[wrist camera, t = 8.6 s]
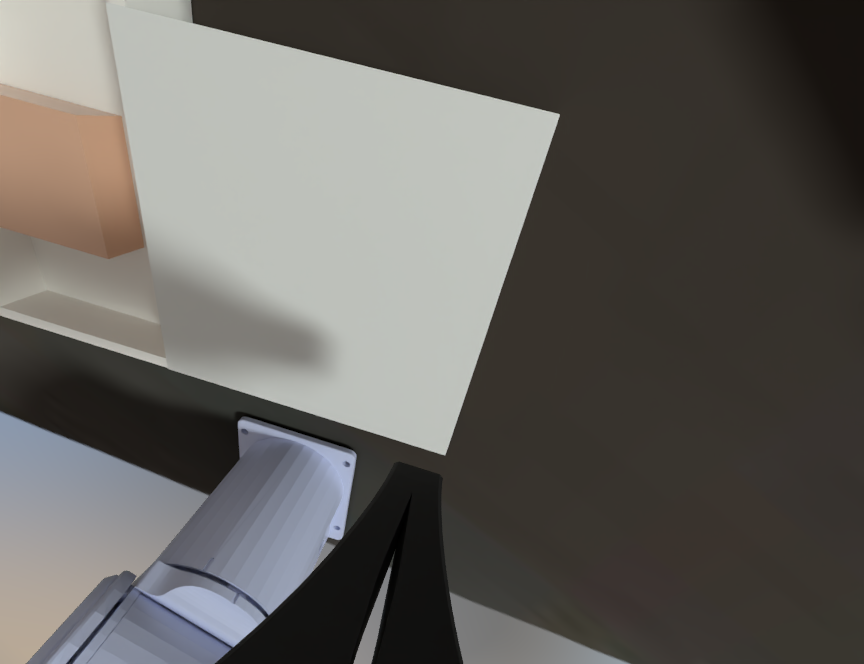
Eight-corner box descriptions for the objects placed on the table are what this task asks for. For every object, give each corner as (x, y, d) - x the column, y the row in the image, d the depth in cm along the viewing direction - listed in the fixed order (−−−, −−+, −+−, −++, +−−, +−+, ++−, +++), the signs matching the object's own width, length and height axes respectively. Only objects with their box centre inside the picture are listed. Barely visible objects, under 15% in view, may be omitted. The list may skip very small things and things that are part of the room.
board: (457, 401, 21) (445, 455, 18) (222, 330, 22) (168, 368, 19) (549, 116, 14) (559, 114, 11) (200, 29, 15) (105, 1, 12)
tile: (-6, 225, 18) (39, 216, 20) (108, 259, 18) (144, 247, 20) (-60, 78, 15) (-1, 83, 17) (75, 115, 15) (121, 115, 17)
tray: (219, 343, 23) (180, 371, 20) (51, 292, 23) (-7, 313, 21) (190, -5, 15) (119, -33, 12) (-64, -67, 15) (-183, -105, 13)
